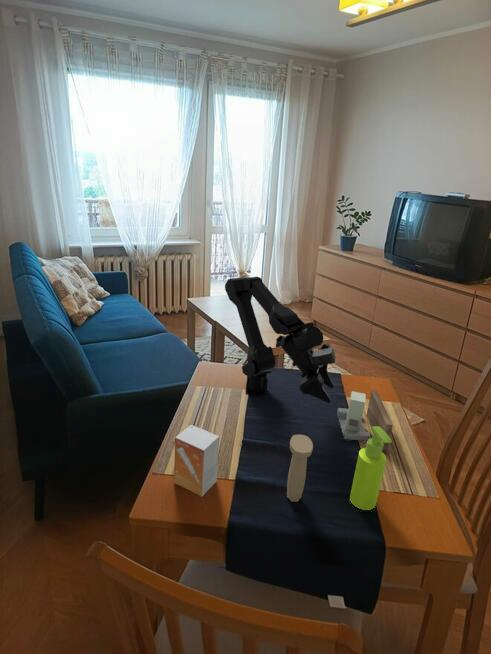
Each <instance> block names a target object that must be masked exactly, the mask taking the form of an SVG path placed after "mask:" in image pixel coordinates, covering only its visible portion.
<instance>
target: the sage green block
mask: <svg viewBox="0 0 491 654" xmlns="http://www.w3.org/2000/svg"><path fill="white" fill-rule="evenodd" d="M348 404H349V405H348V408H347V409H348V414H347V420H346V426H345V429H346V430H353V431H359V430H360V425H361V420H362V419H363V416H364V410H365V405H366V393H362V392H358V391H353V390H352V391H351V393H350V399H349V403H348ZM362 421H363V420H362Z"/></svg>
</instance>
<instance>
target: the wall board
mask: <svg viewBox="0 0 491 654" xmlns="http://www.w3.org/2000/svg"><path fill="white" fill-rule="evenodd" d="M368 401H369V402H368V406H367V411H366V418H367V421H368V424H369V426H370V428H371V427H374V426H379V427H380V428H382V429H383V430H384V431H385V432H386V433H387V435H388V436H389V437H390V438H391V434H392V431H393V426H394V424H393V422H392V420H391V418H390V415H389V414H388V412H387V409H386V407H385V405H384V403H383V401H382V398H381V397H380V394H379V392H378V390H373V389H372V390H371V392H370V397H369V400H368ZM371 431H372V430H371ZM373 433H374V432H373V431H372V434H373ZM382 453H383V454H384V453H385V454H393V453H394V451H393V448H392V445H391V443H383V450H382Z"/></svg>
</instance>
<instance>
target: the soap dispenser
mask: <svg viewBox="0 0 491 654" xmlns="http://www.w3.org/2000/svg"><path fill="white" fill-rule="evenodd" d="M370 430H371V431H373V432H374V433H373V432H372V437H370V439H368V441H367V442H366V447H364V448H361V449H360V450H359V452H358V456H357V461H356V465H355V471H354V475H353V480H352V485H351V490H350V496H349V502H350V501H351V503H352V504H353V505H354V506H355V507H357V508H359V509H362V510H371V509H373V508H375V509H376V507H377V502H378V498H379V495H380V489H381V485H382V480H383V477H384V472H385V468H386V464H387V457H386V455H385V454H384V453H382V450H383V443H390V444H391V443H393V440H392V439H391V436H390V437H389V436H388V435H387V433H386V432H385V431H384V430H383V429H382V428H380V427H379V426H374V427H371V426H370ZM351 503H350V504H351ZM375 506H376V507H375Z"/></svg>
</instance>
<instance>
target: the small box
mask: <svg viewBox="0 0 491 654" xmlns="http://www.w3.org/2000/svg"><path fill="white" fill-rule="evenodd" d="M219 447H220V436H219V435H216V434H214V433H212V432H210V431H209V430H208V431H207V430H205V429H203V428H200V427H198V426H196V425H193V424H190V425H189V426H188V427H186V428H185V429H184V430H182V431H181V432H180V433H178V434H177V435H176V436H175V437H174V462H173V463H174V466H173V467H174V469H173V484H175V485H177V486H179V487H181V488H183V489H186V490H188V491H189V492H192V493H193V494H195V495H197V496H199V497H201V498H203V496H204V495H205V494H206V493H207V492H208V491H209V490H210V489H211V488H212V487H213V486H214V485H215V484H216V483H217V481H218V479H217V478H218V468H219V467H218V464H219V452H220V450H219V449H220V448H219Z"/></svg>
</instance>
